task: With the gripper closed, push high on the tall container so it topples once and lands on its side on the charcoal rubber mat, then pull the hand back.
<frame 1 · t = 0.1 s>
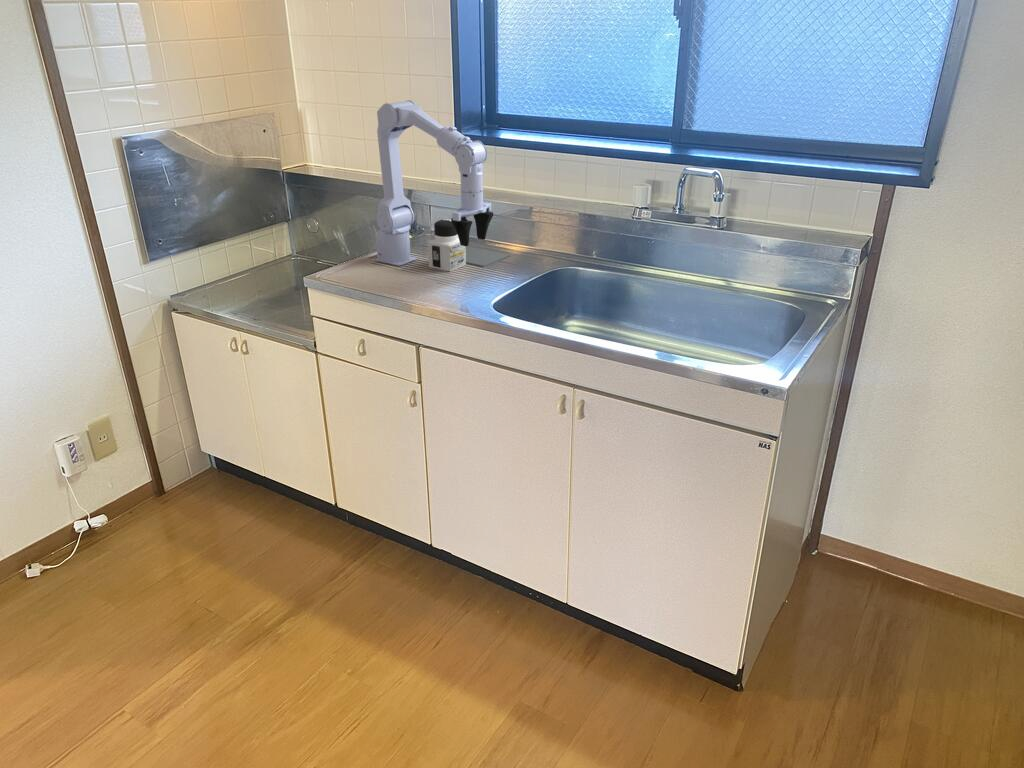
hand: (473, 242, 206), 10 cm above the counter, tool pointing down, fingers open, 7 cm apart
container: (447, 267, 220), on the counter
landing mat: (472, 256, 229), on the counter
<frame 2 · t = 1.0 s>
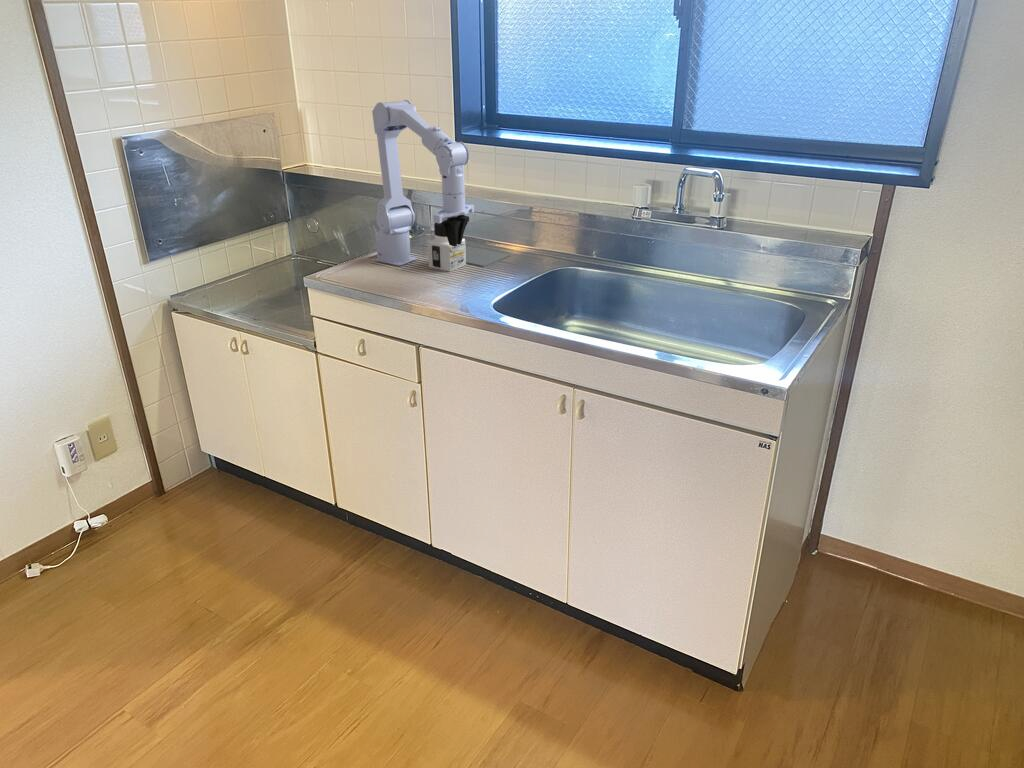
hand: (455, 244, 203), 10 cm above the counter, tool pointing down, fingers closed
nothing on the counter moved.
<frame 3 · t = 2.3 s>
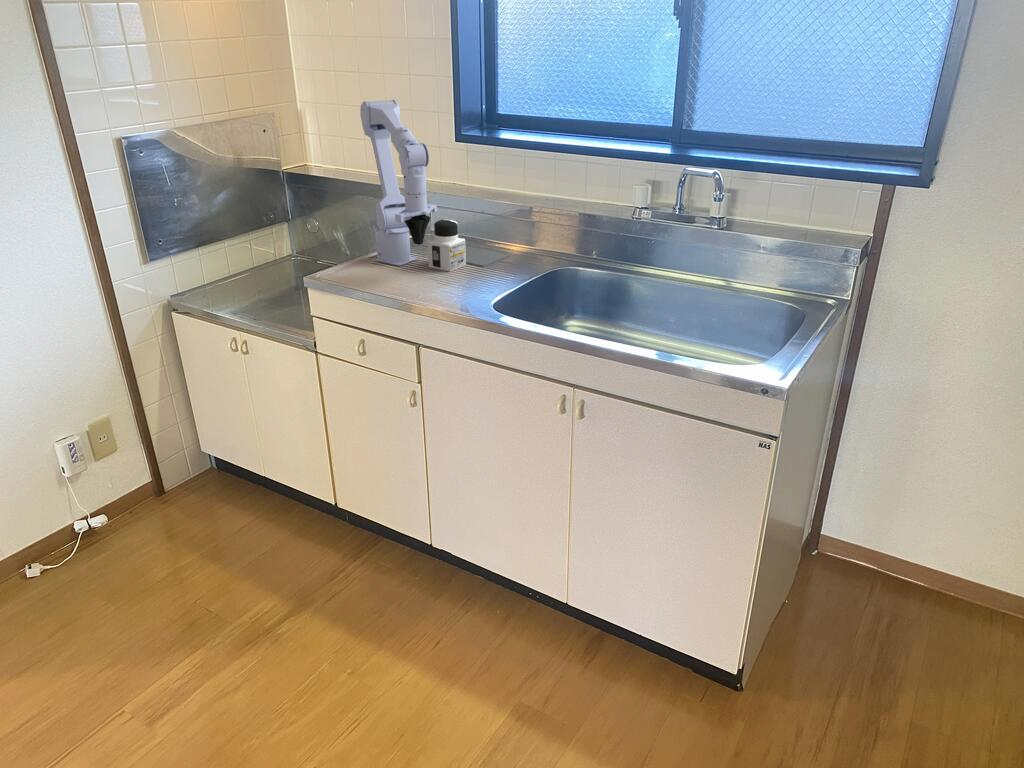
hand: (418, 243, 207), 9 cm above the counter, tool pointing down, fingers closed
nothing on the counter moved.
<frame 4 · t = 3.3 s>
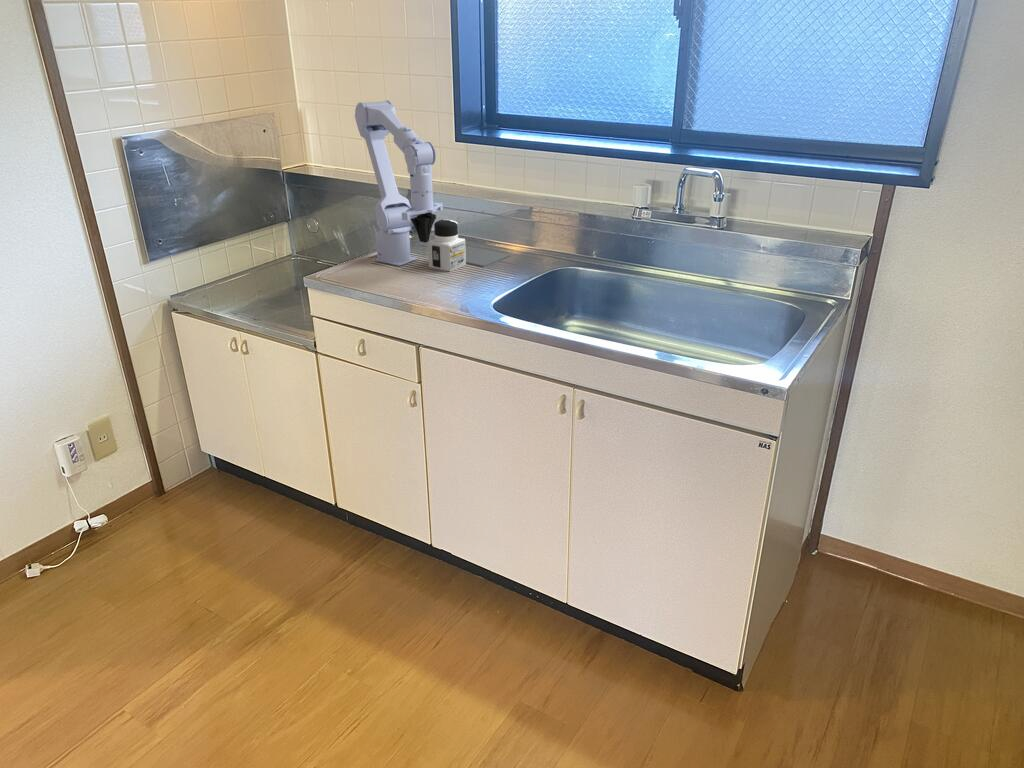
hand: (424, 241, 209), 9 cm above the counter, tool pointing down, fingers closed
nothing on the counter moved.
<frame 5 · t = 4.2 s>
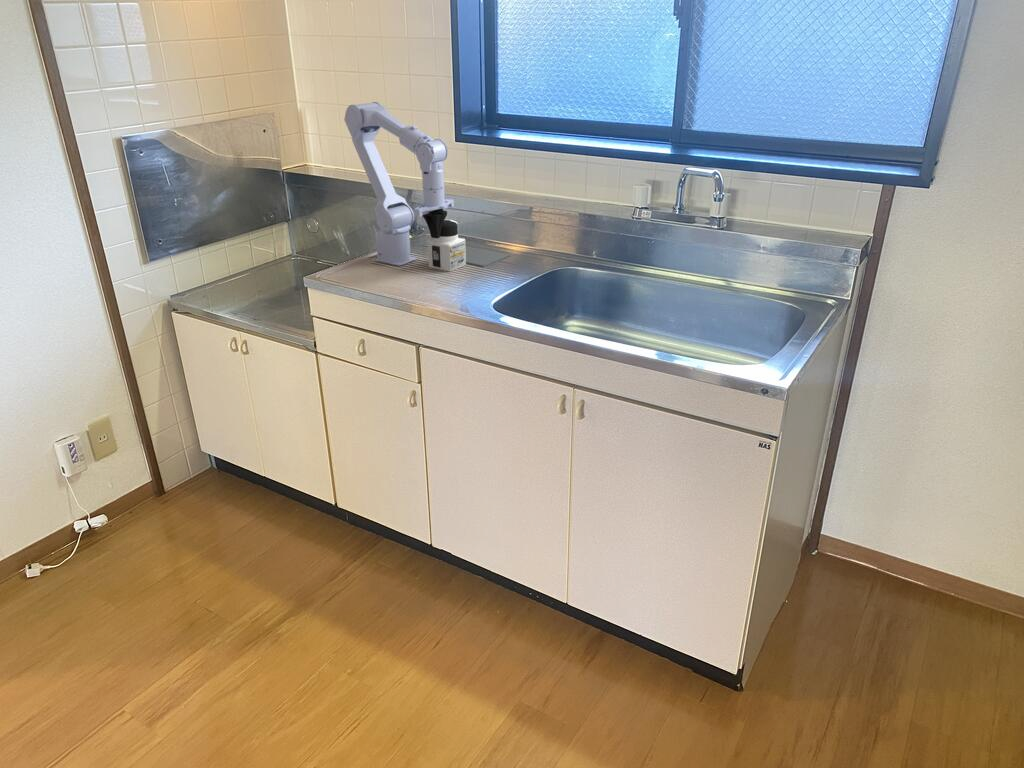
hand: (435, 237, 212), 9 cm above the counter, tool pointing down, fingers closed
container: (447, 267, 220), on the counter, touching gripper
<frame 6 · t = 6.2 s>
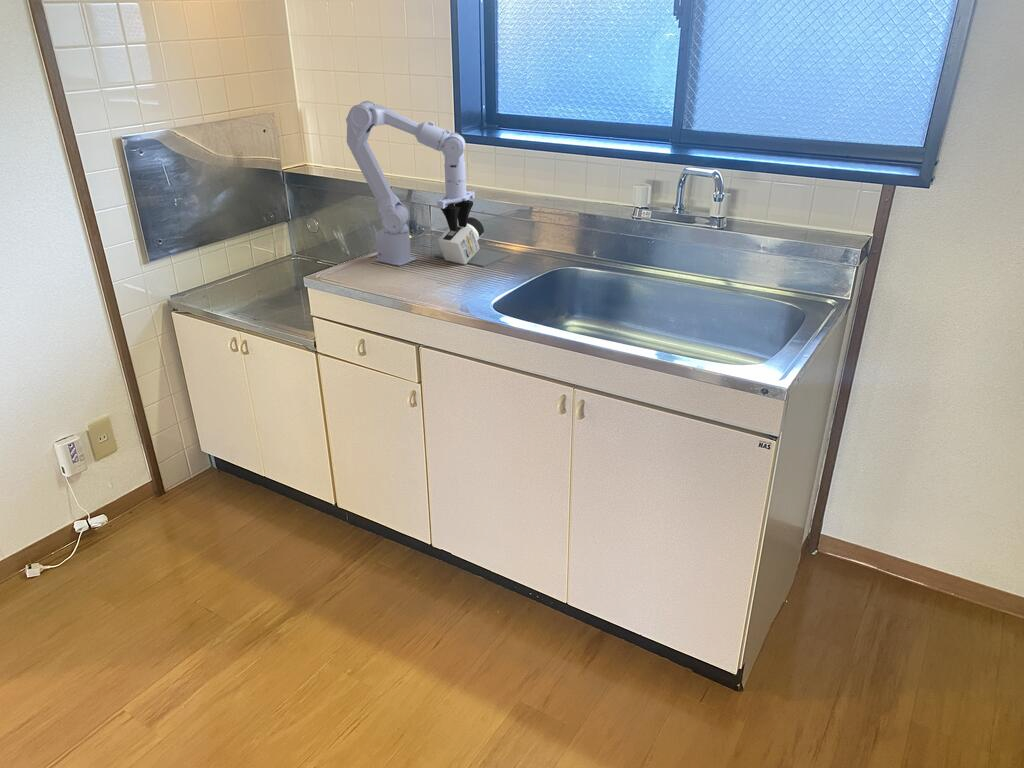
hand: (457, 228, 219), 10 cm above the counter, tool pointing down, fingers open, 4 cm apart
container: (450, 253, 220), point 3 cm above the counter, touching gripper
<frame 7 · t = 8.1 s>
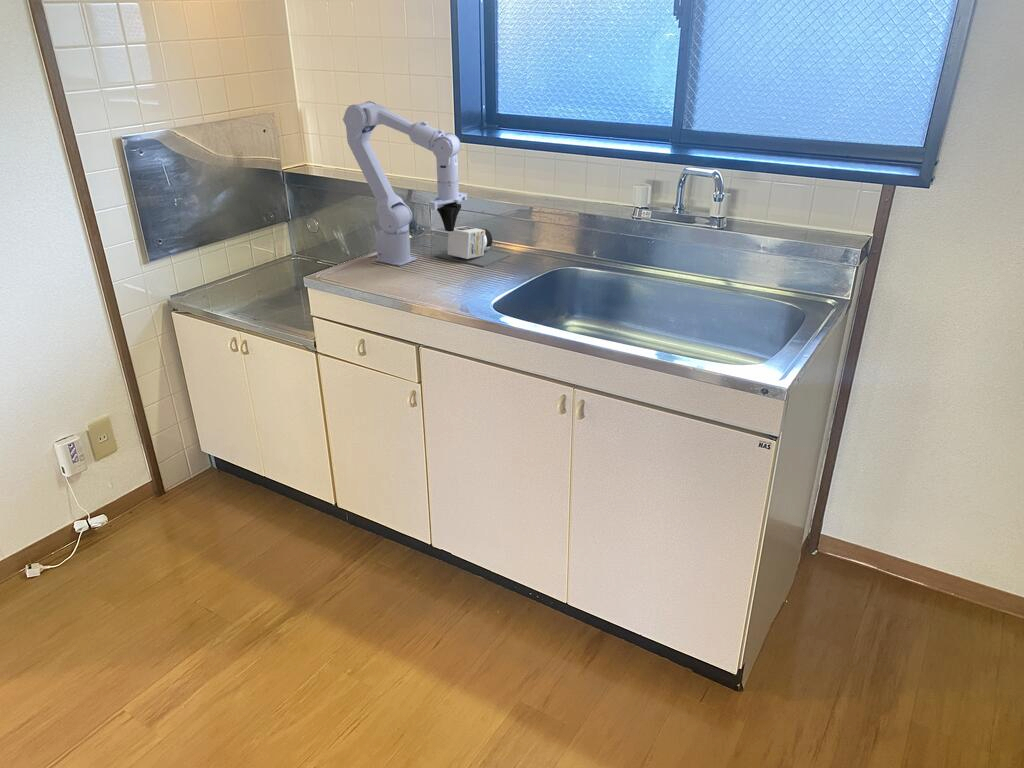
hand: (449, 230, 215), 10 cm above the counter, tool pointing down, fingers closed
container: (457, 243, 222), point 5 cm above the counter, touching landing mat
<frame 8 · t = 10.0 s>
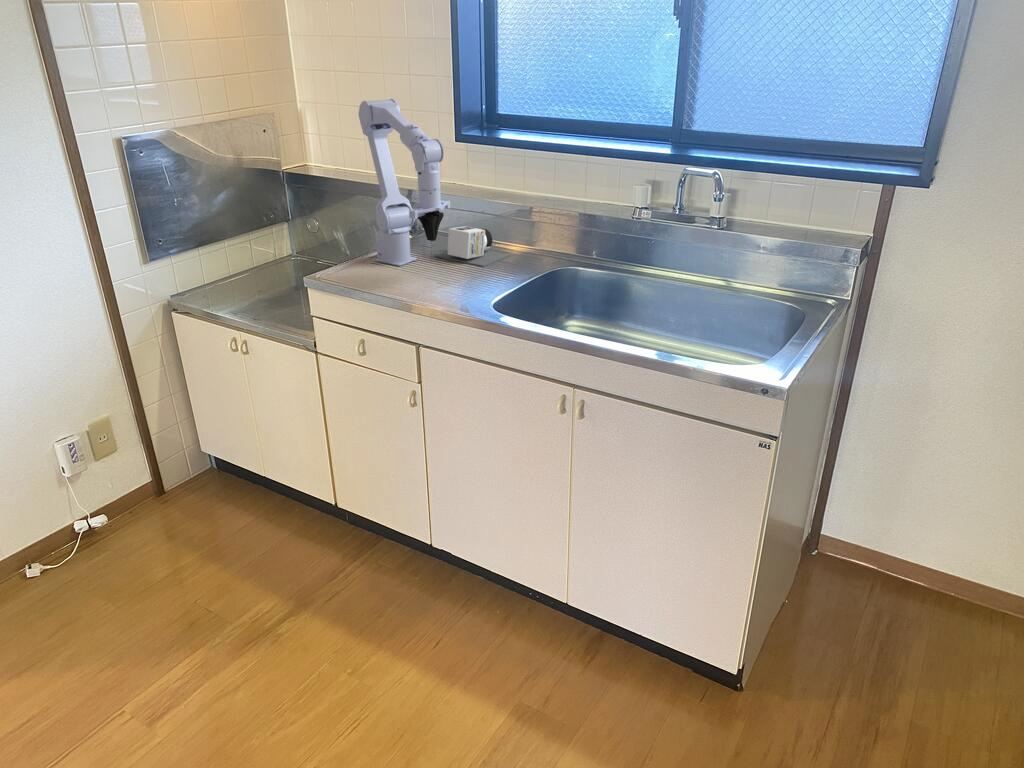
hand: (431, 240, 207), 10 cm above the counter, tool pointing down, fingers closed
nothing on the counter moved.
at the end: container tilted 97°; container inside the target area (1.6 cm from its centre), point 5.2 cm above the counter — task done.
